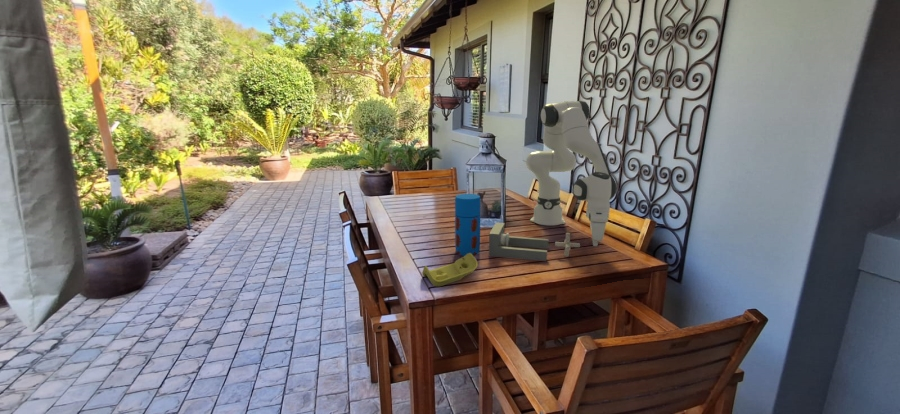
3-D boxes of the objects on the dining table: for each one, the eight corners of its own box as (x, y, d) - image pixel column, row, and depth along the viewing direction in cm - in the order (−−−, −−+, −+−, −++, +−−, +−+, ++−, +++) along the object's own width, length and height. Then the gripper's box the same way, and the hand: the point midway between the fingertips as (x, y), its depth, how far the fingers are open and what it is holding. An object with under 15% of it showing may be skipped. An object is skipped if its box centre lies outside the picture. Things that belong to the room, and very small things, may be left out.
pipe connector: (580, 260, 164) (581, 237, 161) (555, 259, 166) (556, 236, 163) (577, 252, 173) (579, 230, 171) (553, 251, 175) (555, 229, 173)
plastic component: (435, 283, 139) (423, 263, 145) (433, 296, 143) (421, 276, 150) (482, 267, 148) (468, 249, 154) (478, 280, 153) (465, 262, 159)
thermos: (464, 258, 168) (464, 200, 162) (450, 250, 176) (450, 195, 170) (484, 252, 174) (485, 197, 167) (470, 246, 182) (470, 192, 176)
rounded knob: (493, 243, 180) (493, 229, 179) (509, 244, 179) (509, 230, 177) (491, 247, 174) (491, 233, 173) (507, 249, 173) (507, 235, 171)
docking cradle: (495, 243, 186) (495, 222, 183) (548, 247, 179) (549, 226, 177) (488, 255, 170) (489, 233, 168) (546, 261, 164) (547, 238, 161)
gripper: (588, 206, 172) (585, 236, 175) (590, 218, 153) (588, 252, 156) (603, 207, 170) (601, 238, 174) (608, 219, 151) (605, 253, 155)
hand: (594, 245), depth 165 cm, fingers closed
